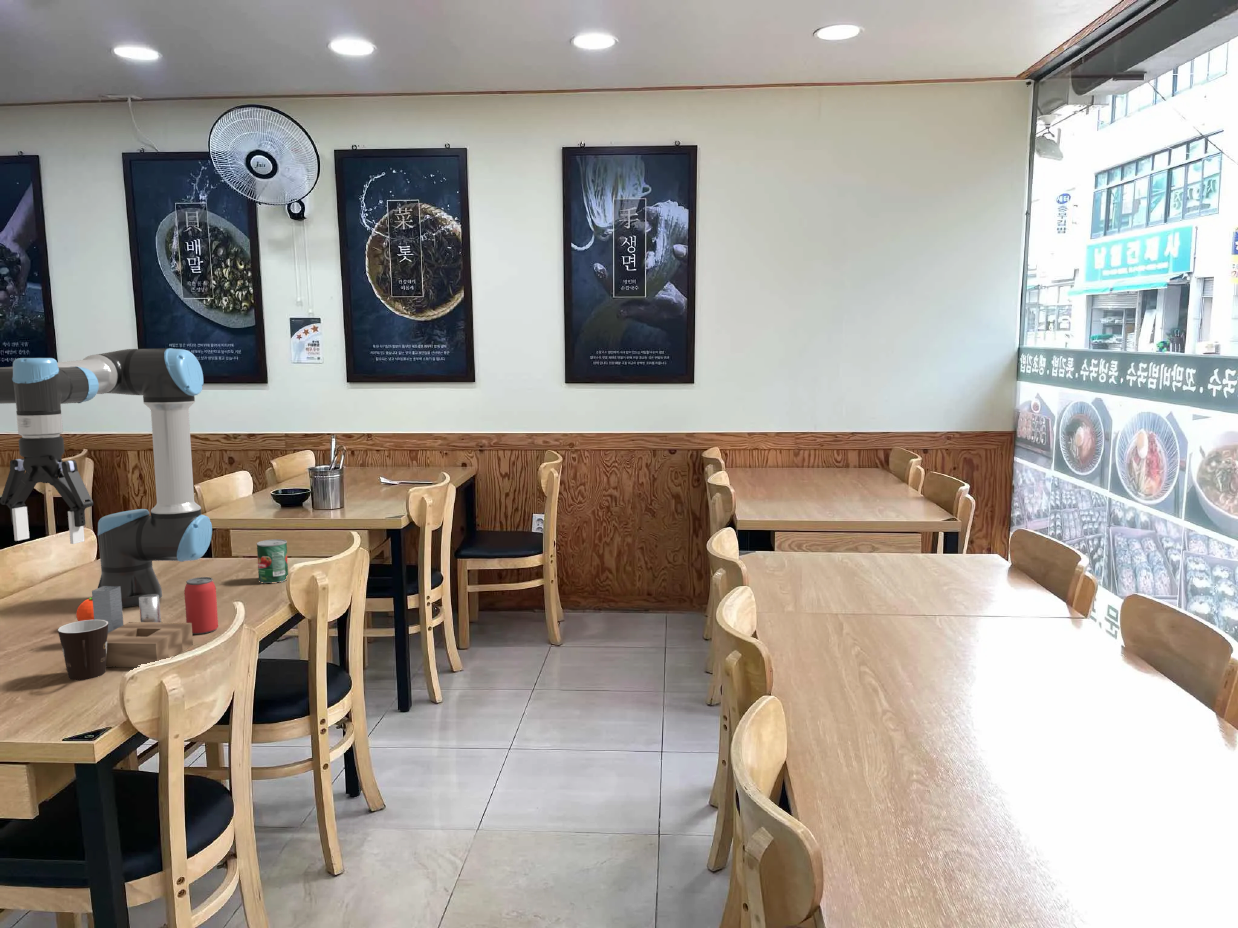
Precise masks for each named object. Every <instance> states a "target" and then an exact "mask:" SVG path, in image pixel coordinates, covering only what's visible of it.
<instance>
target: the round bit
mask: <svg viewBox="0 0 1238 928" xmlns="http://www.w3.org/2000/svg"><path fill="white" fill-rule="evenodd" d="M160 604H161V603H160V599H159V595H158V594H148V595H143V596H140V597H139V605H138V606H139V619H140V621H139V622H162V621H161V620H162V619H161V605H160Z"/></svg>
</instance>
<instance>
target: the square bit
mask: <svg viewBox="0 0 1238 928" xmlns="http://www.w3.org/2000/svg"><path fill="white" fill-rule="evenodd" d="M97 588H98V587H97ZM97 588H96V589H93V590H92V591H91V598H92V599H93V612H94V620H105V621H107V622H108V633H109V632H111V631H113V630H115V629H117V628H119V627H121V626H123V625H124V616H123V615H124V614H123V607H122V600H121V587H120V586H102V587H100V588H98V589H97Z"/></svg>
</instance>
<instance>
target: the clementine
mask: <svg viewBox="0 0 1238 928" xmlns="http://www.w3.org/2000/svg"><path fill="white" fill-rule="evenodd" d="M76 619H77V622H78V621H84V620H94V612H93V599H92V597H89V598H87V599H85V600H84V601H82V602H81V603H80V604H79V605H78V606H77V610H76Z"/></svg>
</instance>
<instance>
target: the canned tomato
mask: <svg viewBox="0 0 1238 928" xmlns="http://www.w3.org/2000/svg"><path fill="white" fill-rule="evenodd" d="M287 543H288V541H287V540H286V539H282V538H281V539H275V538H273V539H265V540H259V541H258V542H256V551H257V553H256V554H257V571H258V575H257V576H258V582H259V581H260V582H263V583H272V582H280V581H281V583H284V582H283V581H285V579H286V576H287V575H288V576H289V567H288V566H289V563H288V544H287ZM285 582H286V581H285Z"/></svg>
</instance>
